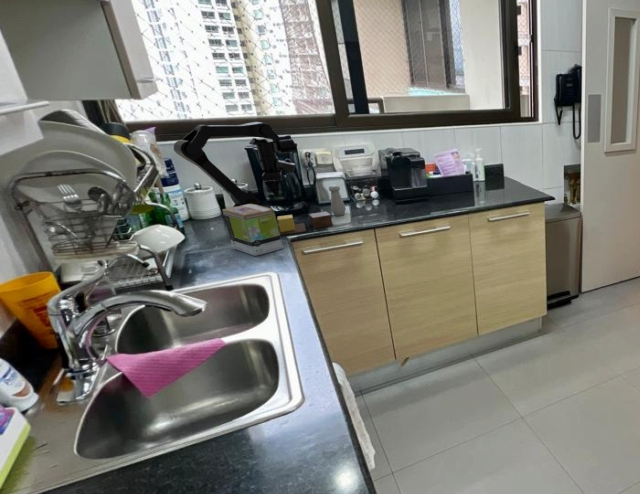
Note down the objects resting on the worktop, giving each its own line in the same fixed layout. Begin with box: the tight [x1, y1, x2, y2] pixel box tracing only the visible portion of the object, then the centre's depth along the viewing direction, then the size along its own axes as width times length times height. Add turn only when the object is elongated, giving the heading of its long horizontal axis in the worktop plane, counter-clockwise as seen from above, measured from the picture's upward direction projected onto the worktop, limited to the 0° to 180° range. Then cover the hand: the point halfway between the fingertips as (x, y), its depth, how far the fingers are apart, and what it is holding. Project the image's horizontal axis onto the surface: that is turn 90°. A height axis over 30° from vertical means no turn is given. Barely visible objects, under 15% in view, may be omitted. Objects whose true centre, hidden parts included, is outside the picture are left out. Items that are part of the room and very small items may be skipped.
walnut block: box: [308, 211, 333, 229], centre depth 191 cm, size 6×6×4 cm
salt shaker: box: [328, 184, 347, 217], centre depth 203 cm, size 6×6×13 cm
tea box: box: [221, 204, 284, 257], centre depth 163 cm, size 15×10×15 cm, turn 59°
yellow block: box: [276, 214, 296, 232], centre depth 184 cm, size 5×5×5 cm
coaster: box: [278, 222, 307, 237], centre depth 185 cm, size 12×12×1 cm
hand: (277, 193), depth 190 cm, fingers open, 9 cm apart
